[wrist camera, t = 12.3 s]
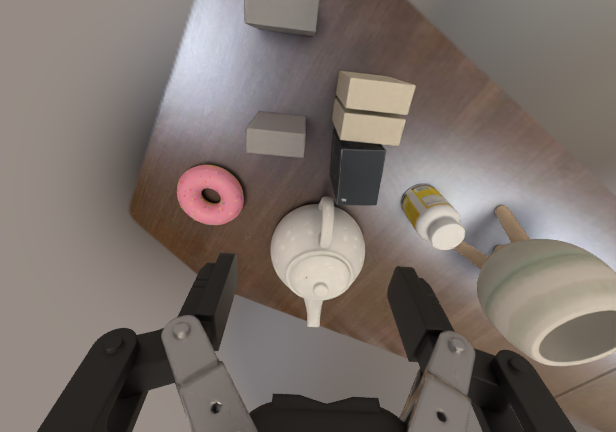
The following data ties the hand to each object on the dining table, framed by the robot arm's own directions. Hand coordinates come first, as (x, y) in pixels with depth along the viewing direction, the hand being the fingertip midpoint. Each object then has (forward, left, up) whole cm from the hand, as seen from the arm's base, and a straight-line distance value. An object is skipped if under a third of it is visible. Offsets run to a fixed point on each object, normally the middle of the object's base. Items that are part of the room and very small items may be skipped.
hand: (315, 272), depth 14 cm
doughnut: (+13, -15, -32) cm, 38 cm away
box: (+4, +7, -32) cm, 33 cm away
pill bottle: (+11, +21, -32) cm, 40 cm away
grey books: (-6, -4, -32) cm, 33 cm away
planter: (+17, +36, -32) cm, 51 cm away
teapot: (+21, +4, -32) cm, 39 cm away
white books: (-4, +7, -32) cm, 33 cm away
